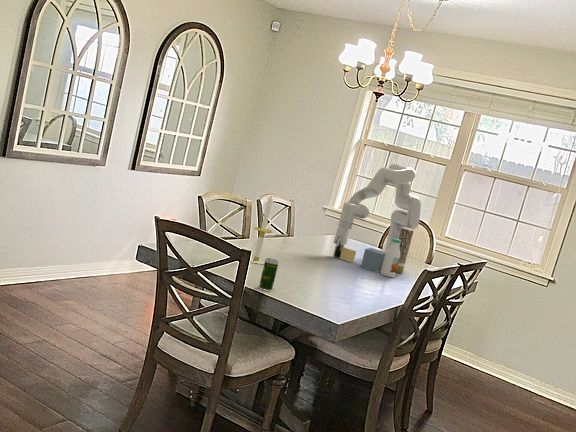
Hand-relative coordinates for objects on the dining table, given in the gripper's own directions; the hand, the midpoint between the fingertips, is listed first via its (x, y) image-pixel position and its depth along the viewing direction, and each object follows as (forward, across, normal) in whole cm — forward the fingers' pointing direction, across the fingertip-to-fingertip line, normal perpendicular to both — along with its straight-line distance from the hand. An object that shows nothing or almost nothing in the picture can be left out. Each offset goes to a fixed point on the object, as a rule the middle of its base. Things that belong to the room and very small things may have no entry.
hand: (337, 256), depth 374 cm
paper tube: (+1, -14, +31) cm, 34 cm away
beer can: (+1, +113, +12) cm, 114 cm away
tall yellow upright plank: (0, 0, +4) cm, 4 cm away
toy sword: (+1, +73, -14) cm, 74 cm away
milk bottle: (+1, +5, +31) cm, 32 cm away
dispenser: (+1, 0, +21) cm, 21 cm away
